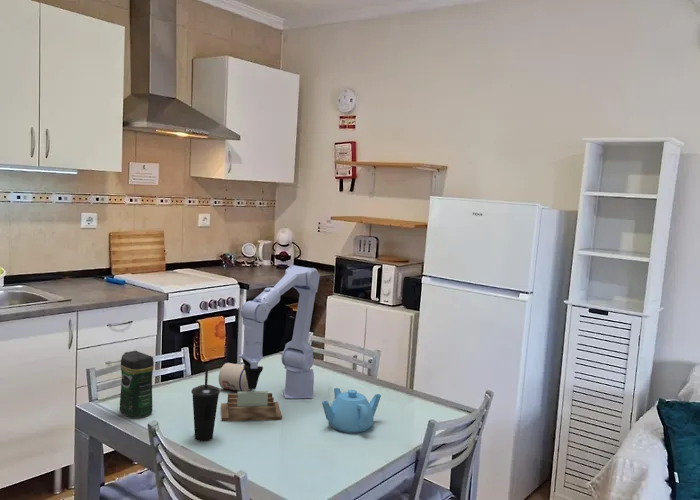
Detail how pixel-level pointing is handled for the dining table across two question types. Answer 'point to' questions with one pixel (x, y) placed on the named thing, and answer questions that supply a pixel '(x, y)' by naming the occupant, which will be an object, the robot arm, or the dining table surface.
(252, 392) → the upright gray panel
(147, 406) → the coffee jar
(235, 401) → the walnut rack
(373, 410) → the teapot
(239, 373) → the beige mug
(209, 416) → the drinking cup
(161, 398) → the dining table surface
